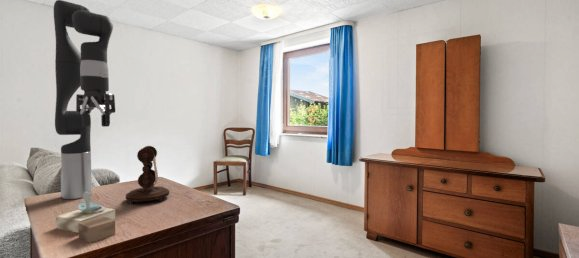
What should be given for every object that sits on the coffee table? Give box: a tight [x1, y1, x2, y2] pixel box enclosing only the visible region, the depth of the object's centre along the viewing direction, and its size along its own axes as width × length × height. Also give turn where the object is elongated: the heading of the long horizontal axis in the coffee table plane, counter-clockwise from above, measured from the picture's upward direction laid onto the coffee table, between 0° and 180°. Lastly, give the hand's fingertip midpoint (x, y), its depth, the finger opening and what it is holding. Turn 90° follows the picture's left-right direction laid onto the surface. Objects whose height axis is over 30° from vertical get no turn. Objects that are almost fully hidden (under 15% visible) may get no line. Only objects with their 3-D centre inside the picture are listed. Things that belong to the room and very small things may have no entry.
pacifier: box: [77, 191, 106, 214], centre depth 83 cm, size 7×6×6 cm
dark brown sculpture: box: [125, 145, 170, 205], centre depth 106 cm, size 15×15×20 cm
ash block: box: [55, 207, 116, 234], centre depth 82 cm, size 10×10×4 cm
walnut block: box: [78, 216, 116, 244], centre depth 74 cm, size 6×6×4 cm
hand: (95, 126), depth 92 cm, fingers open, 8 cm apart
